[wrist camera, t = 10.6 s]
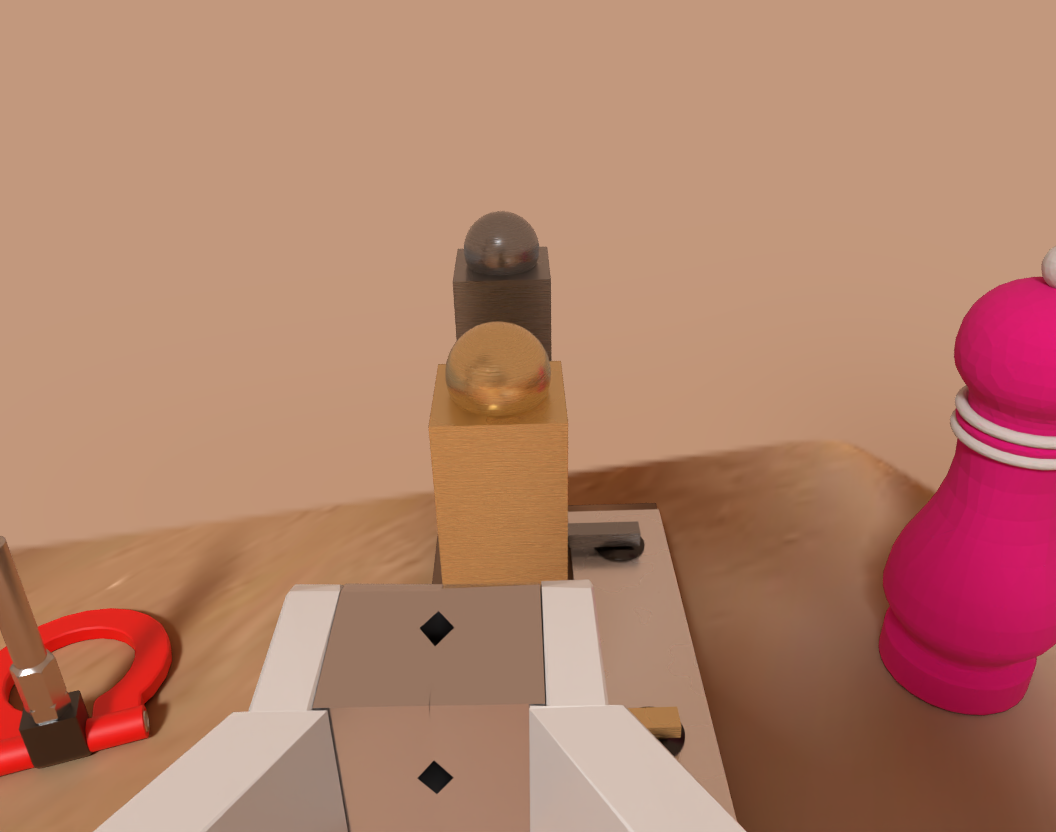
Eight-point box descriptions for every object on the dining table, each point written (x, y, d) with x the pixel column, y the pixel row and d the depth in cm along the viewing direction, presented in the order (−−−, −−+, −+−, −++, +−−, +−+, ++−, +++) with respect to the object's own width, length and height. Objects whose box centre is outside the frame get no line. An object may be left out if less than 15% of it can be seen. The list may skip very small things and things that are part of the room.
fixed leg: (472, 575, 43) (449, 229, 35) (475, 526, 47) (454, 200, 38) (643, 571, 44) (663, 223, 35) (633, 522, 47) (649, 195, 38)
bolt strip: (490, 918, 29) (490, 911, 29) (498, 518, 48) (497, 512, 48) (756, 910, 29) (758, 903, 29) (658, 513, 48) (659, 507, 48)
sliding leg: (459, 777, 33) (422, 357, 24) (464, 694, 36) (433, 301, 27) (687, 770, 33) (731, 349, 24) (670, 688, 36) (703, 294, 28)
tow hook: (-7, 650, 43) (-50, 800, 35) (-102, 415, 37) (-179, 532, 29) (175, 609, 45) (172, 741, 37) (113, 382, 39) (95, 483, 31)
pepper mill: (846, 609, 43) (930, 213, 33) (993, 607, 43) (1121, 209, 33) (900, 728, 37) (1024, 282, 27) (1072, 725, 37) (1259, 277, 27)
